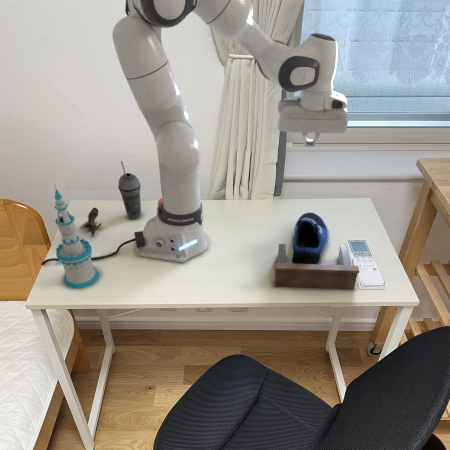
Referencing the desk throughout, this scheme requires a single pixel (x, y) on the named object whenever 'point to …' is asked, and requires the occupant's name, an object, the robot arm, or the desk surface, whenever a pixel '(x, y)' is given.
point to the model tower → (73, 250)
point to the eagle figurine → (91, 221)
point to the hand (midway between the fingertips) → (309, 145)
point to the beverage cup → (130, 194)
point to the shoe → (309, 239)
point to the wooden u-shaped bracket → (316, 273)
